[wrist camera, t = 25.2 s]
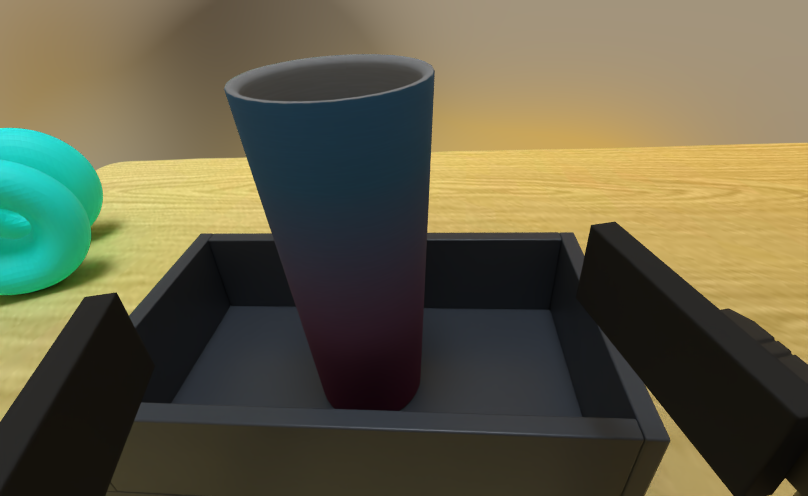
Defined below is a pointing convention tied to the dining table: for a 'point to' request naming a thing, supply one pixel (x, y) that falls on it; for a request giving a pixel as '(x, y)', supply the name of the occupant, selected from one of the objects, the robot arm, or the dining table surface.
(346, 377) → the cup
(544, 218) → the dining table surface
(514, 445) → the dark grey tray
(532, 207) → the dining table surface
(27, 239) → the donuts
